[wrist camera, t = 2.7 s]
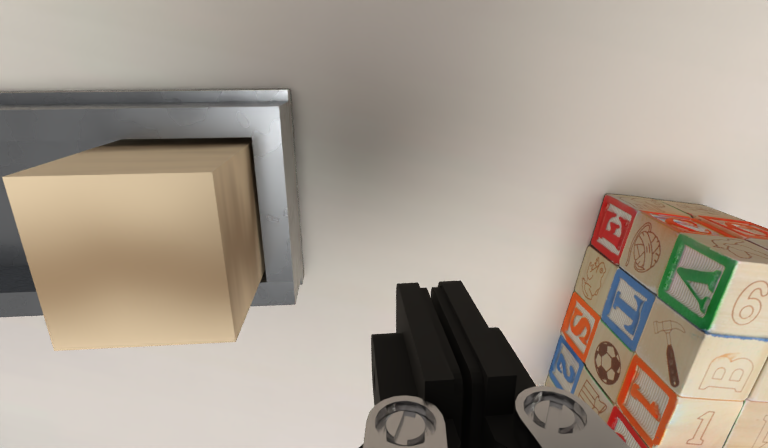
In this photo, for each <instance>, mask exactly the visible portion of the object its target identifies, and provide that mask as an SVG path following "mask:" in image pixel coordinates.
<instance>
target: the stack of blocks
mask: <svg viewBox="0 0 768 448" xmlns="http://www.w3.org/2000/svg"><path fill="white" fill-rule="evenodd" d="M545 386H548V387H556V388H559V389H562V390H565V391H568V392H570V393H572V394H574V395H576V396H578V397H579V398H580V399H582V400H583V401H584V402H585V403H587V404H588V405H589V406H590V407H591V408H592V409H593V410H594V411H595V412H596V413H597V414H598V415H599V416H600V417H601V418H602V419H603V420H604V421H605V422H606V424H607V425H608V426H609V427H610V428H611V429H612V430H613V431H614V432H615V433H616V434H617V435H618V436H619V437H620V438H621V439H622V440H623V441H624V442H625V443H626V444H627V445H628V446H629V447H630V448H768V229H767V228H764V227H762V226H759V225H756V224H754V223H751V222H748V221H745V220H742V219H740V218H737V217H734V216H731V215H729V214H726V213H723V212H721V211H718V210H715V209H713V208H710V207H707V206H704V205H698V204H689V203H681V202H673V201H665V200H656V199H651V198H644V197H636V196H627V195H615V194H606V195H605V197H604V200H603V204H602V207H601V210H600V214H599V217H598V220H597V224H596V227H595V230H594V233H593V237H592V240H591V245H590V246H588V248H587V250H586V254H585V257H584V260H583V263H582V266H581V269H580V272H579V276H578V279H577V282H576V286H575V291H574V293H573V295H572V298H571V301H570V304H569V307H568V310H567V313H566V316H565V319H564V322H563V326H562V328H561V336H560V338H559V341H558V345H557V348H556V351H555V354H554V358H553V360H552V364H551V367H550V370H549V375H548V377H547V380H546V383H545Z"/></svg>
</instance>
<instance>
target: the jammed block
mask: <svg viewBox="0 0 768 448" xmlns="http://www.w3.org/2000/svg"><path fill="white" fill-rule="evenodd" d="M2 178H3V182H4V185H5V188H6V192H7V195H8V198H9V202H10V205H11V208H12V212H13V215H14V218H15V222H16V225H17V228H18V232H19V235H20V238H21V242H22V245H23V248H24V252H25V255H26V258H27V262H28V265H29V268H30V272H31V275H32V278H33V282H34V285H35V288H36V292H37V295H38V298H39V301H40V305H41V308H42V311H43V315H44V318H45V321H46V325H47V328H48V331H49V335H50V338H51V341H52V345H53V348H54V351H59V350H79V349H100V348H120V347H141V346H161V345H182V344H202V343H222V342H236V340H237V337H238V335H239V332H240V330H241V327H242V325H243V323H244V320H245V318H246V315H247V313H248V310H249V308H250V305H251V303H252V301H253V298H254V296H255V293H256V291H257V288H258V286H259V283H260V281H261V279H262V276H263V274H264V271H265V259H264V250H263V240H262V231H261V221H260V212H259V202H258V193H257V183H256V174H255V164H254V155H253V145H252V137H234V138H176V139H121V140H118V141H114V142H111V143H108V144H105V145H102V146H99V147H95V148H92V149H89V150H86V151H83V152H80V153H76V154H73V155H70V156H67V157H64V158H61V159H57V160H54V161H51V162H48V163H45V164H42V165H38V166H35V167H32V168H29V169H26V170H23V171H19V172H16V173H13V174H10V175H7V176H4V177H2Z"/></svg>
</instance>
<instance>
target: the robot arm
mask: <svg viewBox="0 0 768 448" xmlns="http://www.w3.org/2000/svg"><path fill="white" fill-rule="evenodd" d="M371 351H372V380H373V395H374V405H375V406H374V407H373V409H372V410H371V411H370V412H369V415H368V418H367V421H366V428H365V436H364V444H363V445H362V446H360V447H359V448H630V447H629V446H628V445H627V444H626V443H625V442H624V441H623V440H622V439H621V438H620V437H619V436H618V435H617V434H616V433H615V432H614V431H613V430H612V429H611V428H610V427H609V426H608V425H607V424H606V422H605V421H604V420H603V419H602V418H601V417H600V416H599V415H598V414H597V413H596V412H595V411H594V410H593V409H592V408H591V407H590V406H589V405H588V404H587V403H585V402H584V401H583V400H582V399H580V398H579V397H578V396H576V395H574V394H572V393H570V392H568V391H565V390H562V389H559V388H556V387H548V386H536V385H535V384H534V382H533V380H532V379H531V377H530V376H529V374H528V373H527V371H526V369H525V368H524V366H523V365H522V363H521V362H520V360H519V358H518V357H517V355H516V354H515V352H514V351H513V349H512V347H511V346H510V344H509V343H508V341H507V340H506V338H505V336H504V335H503V333H502V332H501V330H500V329H499V328H496V327H494V328H489V327H488V325H487V324H486V322H485V320H484V319H483V317H482V315H481V314H480V312H479V310H478V309H477V307H476V305H475V304H474V302H473V300H472V299H471V297H470V295H469V293H468V292H467V290H466V288H465V287H464V285H463V283H462V282H461V281H444V282H439V284H438V287H432V289H431V298H430V295H429V293H428V290H427V288H420V286H419V284H418V283H402V284H397V288H396V333H388V334H372V336H371Z"/></svg>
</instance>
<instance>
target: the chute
mask: <svg viewBox="0 0 768 448" xmlns="http://www.w3.org/2000/svg"><path fill="white" fill-rule="evenodd" d="M234 137H252V145H253V155H254V164H255V174H256V183H257V193H258V202H259V212H260V221H261V231H262V240H263V250H264V259H265V271H264V274H263V276H262V279H261V281H260V283H259V286H258V288H257V291H256V293H255V296H254V298H253V301H252V303H251V305H250V306H269V305H292V304H296V299H297V295H298V290H299V286H300V285H301V284H302V283H303V278H304V270H303V256H302V242H301V229H300V215H299V202H298V188H297V174H296V161H295V147H294V134H293V120H292V106H291V93H290V89H239V90H136V91H33V92H0V317H16V316H39V315H43V311H42V308H41V305H40V301H39V298H38V295H37V292H36V288H35V285H34V282H33V278H32V275H31V272H30V268H29V265H28V262H27V258H26V255H25V252H24V248H23V245H22V242H21V238H20V235H19V232H18V228H17V225H16V222H15V218H14V215H13V212H12V208H11V205H10V202H9V198H8V195H7V192H6V188H5V185H4V182H3V178H2V177H4V176H7V175H10V174H13V173H16V172H19V171H23V170H26V169H29V168H32V167H35V166H38V165H42V164H45V163H48V162H51V161H54V160H57V159H61V158H64V157H67V156H70V155H73V154H76V153H80V152H83V151H86V150H89V149H92V148H95V147H99V146H102V145H105V144H108V143H111V142H114V141H118V140H121V139H176V138H234Z"/></svg>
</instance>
